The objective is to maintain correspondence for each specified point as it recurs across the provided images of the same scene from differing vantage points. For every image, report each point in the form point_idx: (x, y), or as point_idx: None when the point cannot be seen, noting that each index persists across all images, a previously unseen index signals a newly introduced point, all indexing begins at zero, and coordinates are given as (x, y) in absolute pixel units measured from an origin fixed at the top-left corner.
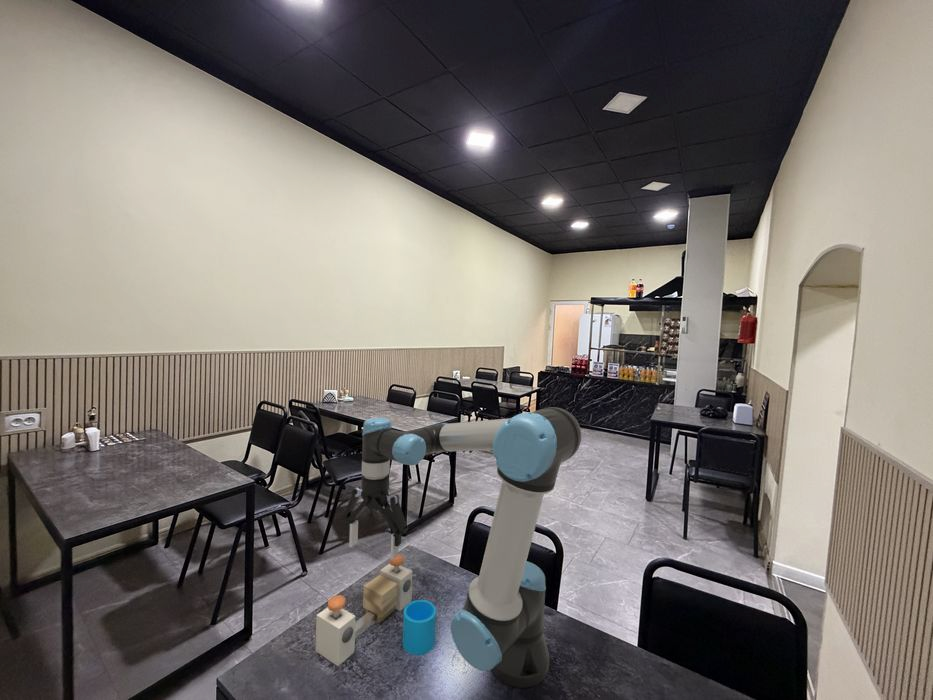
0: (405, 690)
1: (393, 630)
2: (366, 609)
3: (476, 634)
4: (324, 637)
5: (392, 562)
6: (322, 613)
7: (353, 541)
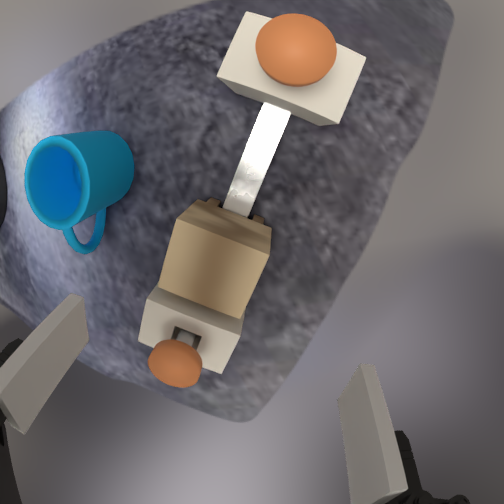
0: (93, 50)
1: (167, 185)
2: (257, 221)
3: None
4: None
5: (177, 349)
6: (350, 66)
7: (357, 396)
